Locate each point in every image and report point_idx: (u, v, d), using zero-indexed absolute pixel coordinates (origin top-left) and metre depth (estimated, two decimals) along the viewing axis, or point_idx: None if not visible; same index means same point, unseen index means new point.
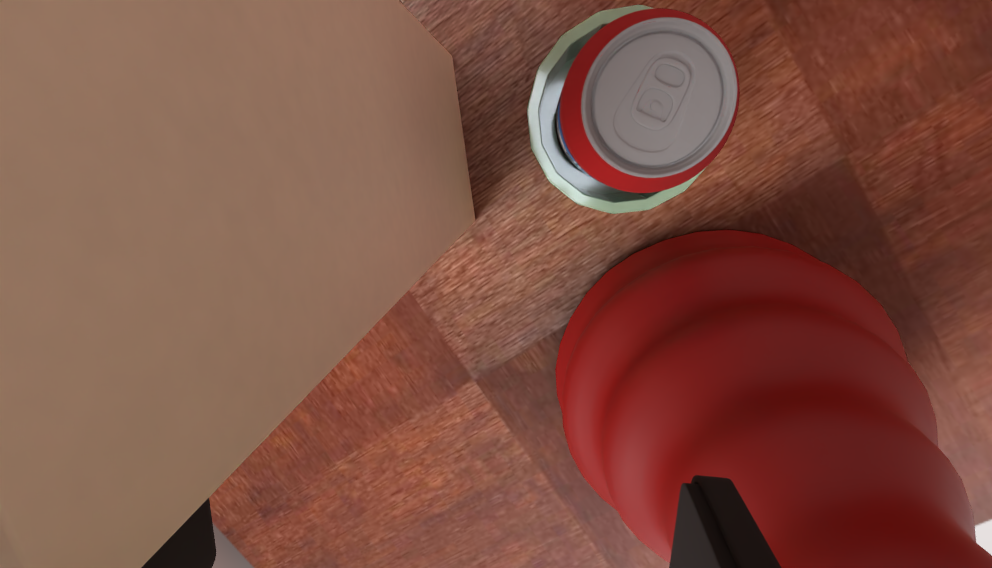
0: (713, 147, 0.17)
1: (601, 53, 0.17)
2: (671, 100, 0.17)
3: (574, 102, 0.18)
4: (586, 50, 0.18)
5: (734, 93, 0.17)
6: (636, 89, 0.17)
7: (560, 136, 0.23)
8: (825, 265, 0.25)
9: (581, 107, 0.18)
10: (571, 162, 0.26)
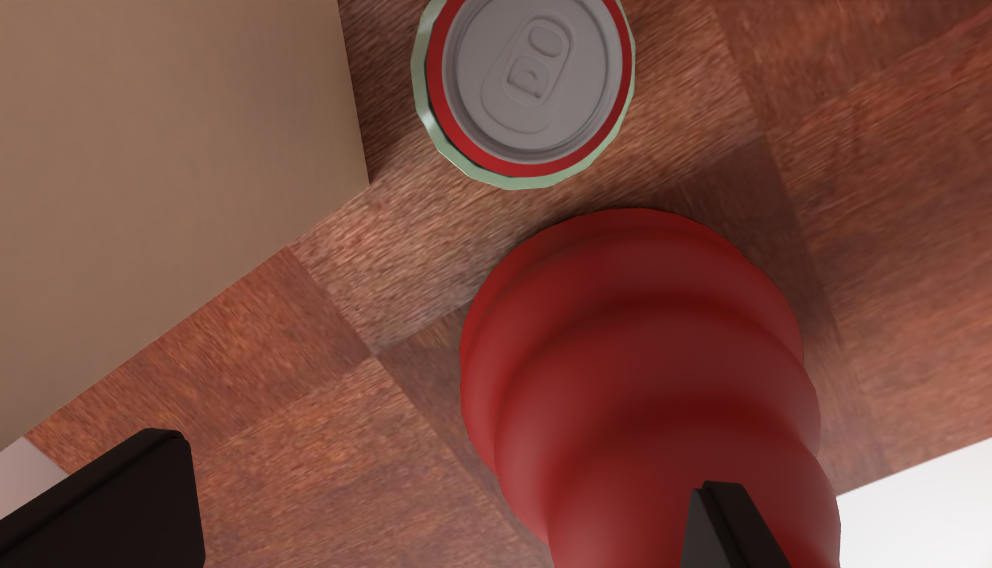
0: (594, 132, 0.15)
1: (462, 7, 0.13)
2: (548, 72, 0.14)
3: (436, 66, 0.15)
4: (452, 0, 0.15)
5: (619, 69, 0.14)
6: (506, 56, 0.14)
7: None
8: (734, 254, 0.24)
9: (443, 74, 0.14)
10: None
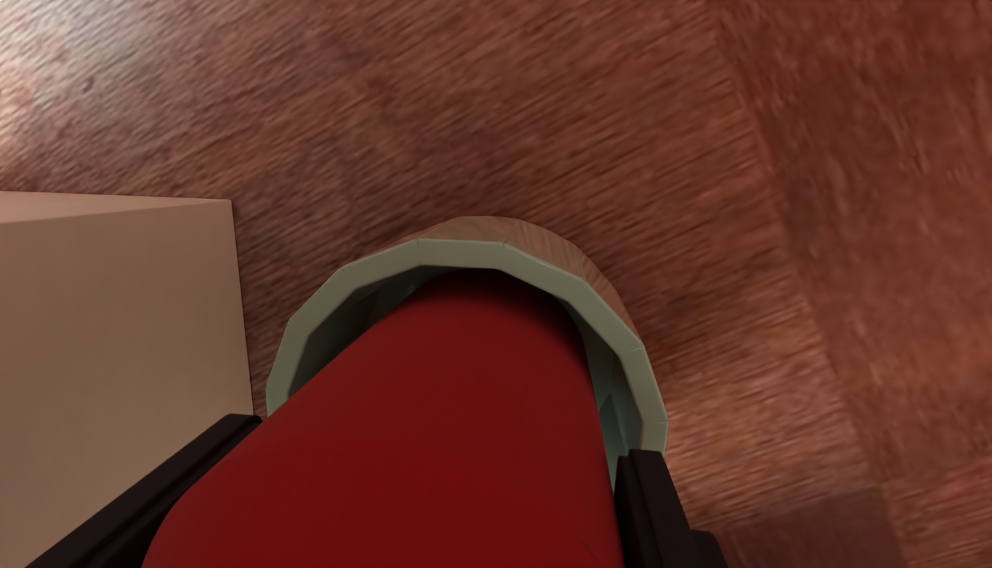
0: None
1: None
2: None
3: None
4: (172, 526, 0.06)
5: None
6: None
7: None
8: None
9: None
10: None
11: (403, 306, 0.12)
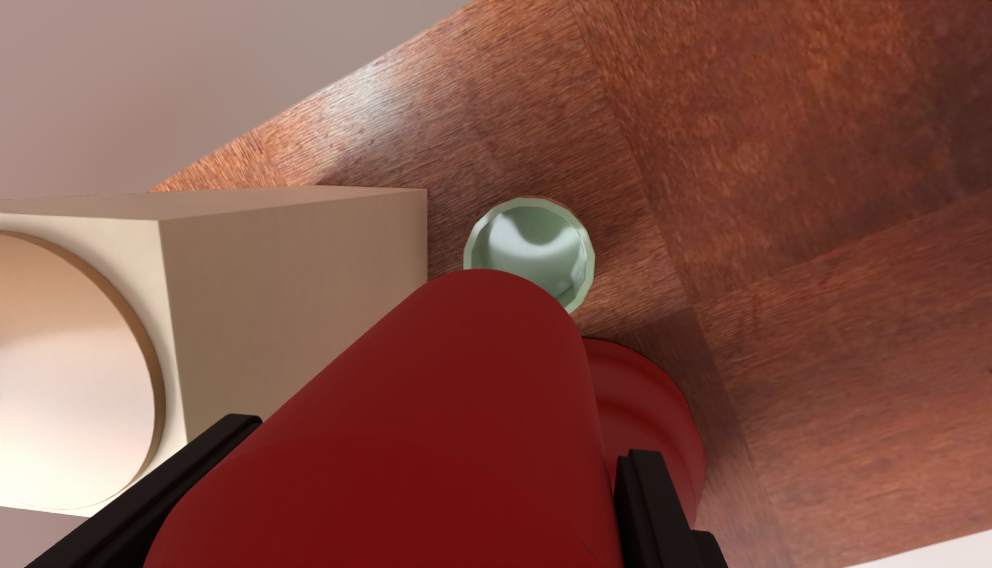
0: None
1: None
2: None
3: None
4: (173, 526, 0.06)
5: None
6: None
7: None
8: (654, 382, 0.36)
9: None
10: None
11: (403, 307, 0.12)
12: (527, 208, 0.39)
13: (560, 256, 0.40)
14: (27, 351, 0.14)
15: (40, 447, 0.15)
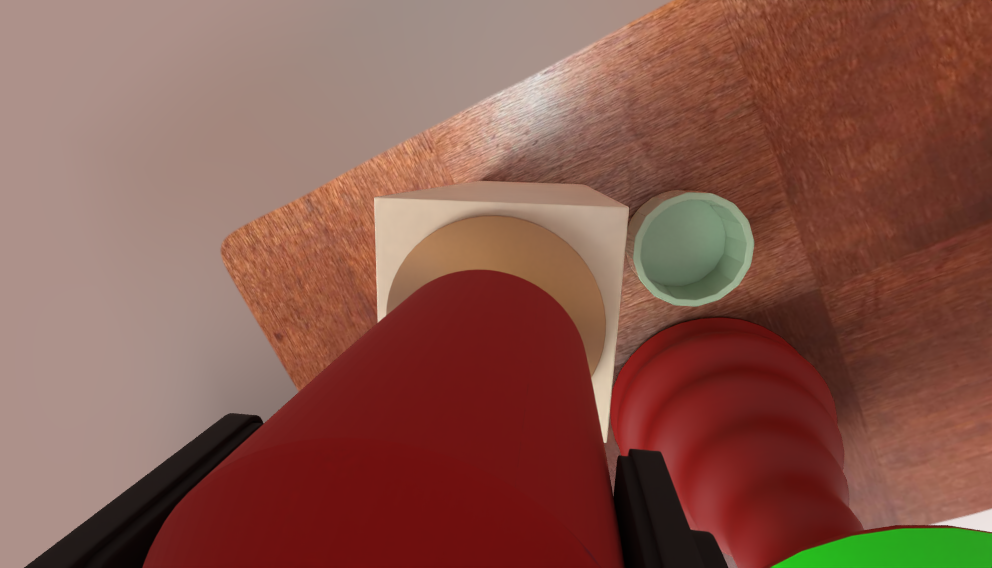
0: None
1: None
2: None
3: None
4: (172, 530, 0.06)
5: None
6: None
7: None
8: (797, 354, 0.42)
9: None
10: None
11: (403, 308, 0.12)
12: None
13: (704, 244, 0.45)
14: None
15: None
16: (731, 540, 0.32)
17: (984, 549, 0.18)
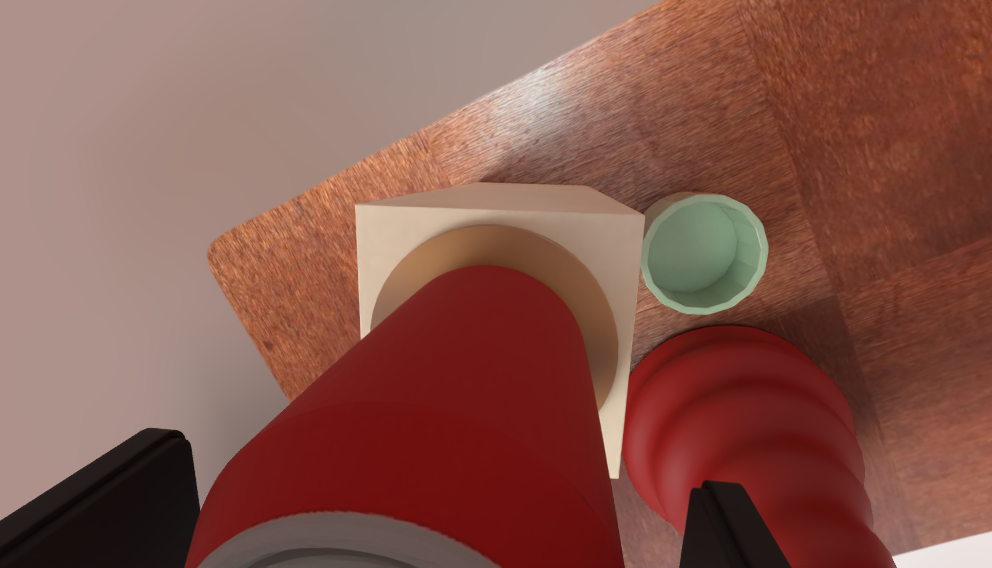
0: None
1: None
2: None
3: None
4: (229, 480, 0.06)
5: None
6: None
7: None
8: (813, 364, 0.39)
9: None
10: None
11: (415, 299, 0.12)
12: None
13: (714, 248, 0.42)
14: None
15: None
16: None
17: None
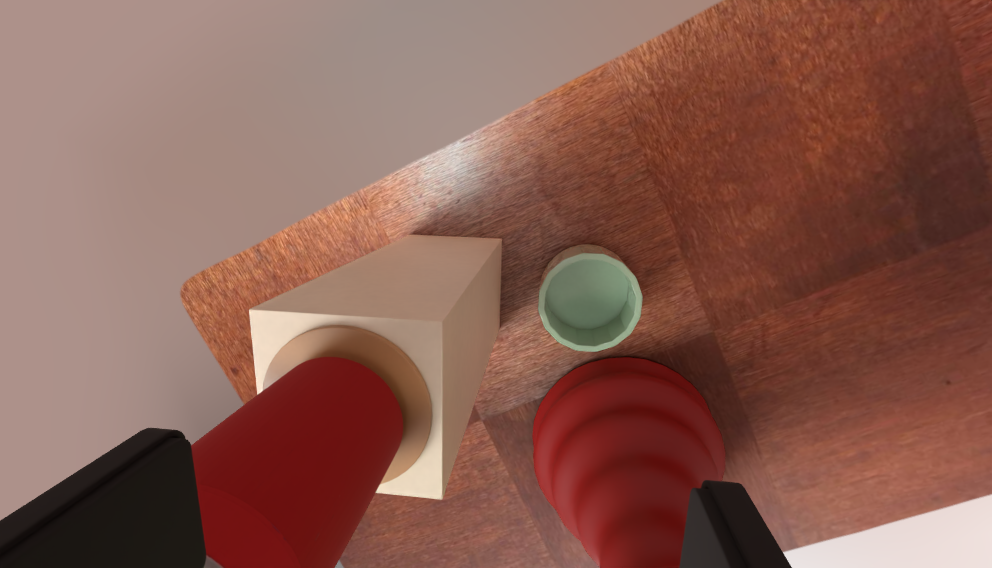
0: None
1: None
2: None
3: None
4: None
5: None
6: None
7: None
8: (686, 393, 0.47)
9: None
10: None
11: (263, 393, 0.20)
12: None
13: (609, 293, 0.50)
14: None
15: None
16: (599, 565, 0.37)
17: None
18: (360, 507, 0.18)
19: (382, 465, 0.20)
